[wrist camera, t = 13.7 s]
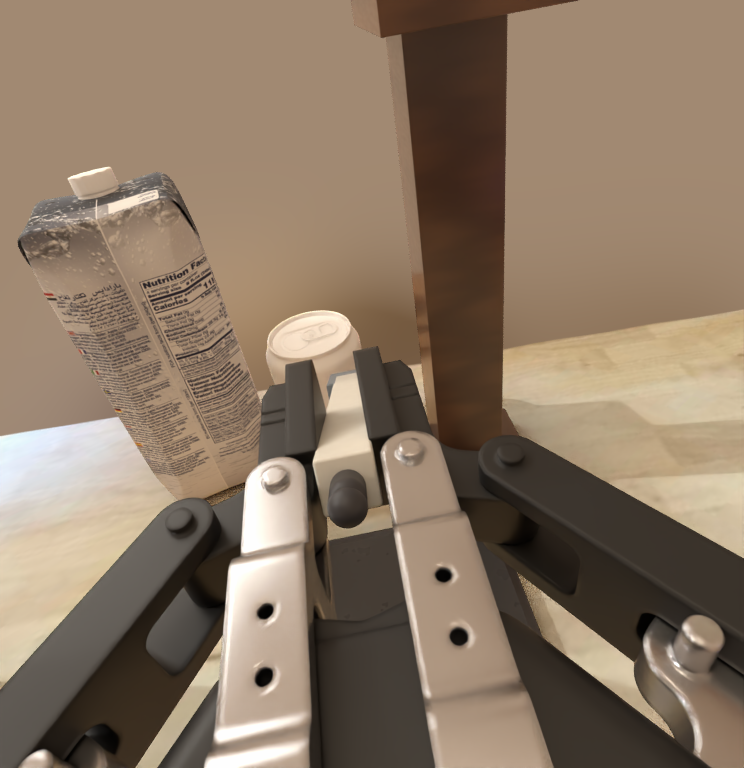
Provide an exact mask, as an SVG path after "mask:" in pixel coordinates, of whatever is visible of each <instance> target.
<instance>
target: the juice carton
mask: <svg viewBox="0 0 744 768" xmlns="http://www.w3.org/2000/svg"><path fill="white" fill-rule="evenodd" d="M68 181H69V183H70V185H71V187H72V189H73V191H74V193H75V195H73V196H67V197H59V198H54V199H48V200H44V201H41V202H39V203H37V204H36V205H35V207H34V209H33V211H32V215H31V217H30V219H29V221H28V223H27V225H26V227H25V229H24V230H23V232H22V233H21V235H20V237H19V238H18V247H19V249H20V251H21V253H22V255H23V256H24V258H25V259H26V261H27V262H28V264H29V265H30V266H31V268H32V269H33V271H34V274H35V276H36V278H37V280H38V282H39V285H40V287H41V289H42V291H43V292H44V294H45V296H46V298H47V299H48V301H49V303H50V305H51V306H52V308H53V310H54V311H55V313H56V315H57V316H58V318H59V319H60V321H61V323H62V325H63V326H64V328H65V329H66V331H67V333H68V335H69V336H70V338H71V340H72V341H73V343H74V344H75V346H76V348H77V349H78V351H79V353H80V354H81V356H82V358H83V359H84V361H85V362H86V364H87V366H88V367H89V369H90V371H91V372H92V374H93V375H94V377H95V379H96V380H97V382H98V384H99V385H100V387H101V388H102V390H103V392H104V393H105V395H106V397H107V398H108V400H109V402H110V403H111V405H112V407H113V408H114V410H115V411H116V413H117V415H118V416H119V418H120V420H121V421H122V423H123V424H124V426H125V428H126V429H127V431H128V433H129V434H130V436H131V437H132V439H133V441H134V442H135V444H136V446H137V447H138V449H139V450H140V452H141V454H142V455H143V457H144V459H145V460H146V462H147V463H148V465H149V466H150V468H151V470H152V471H153V473H154V474H155V475H156V477H157V478H158V479H159V481H160V482H161V483H162V484H163V485H164V486H165V487H166V488H167V489H168V490H169V491H170V492H171V493H172V494H173V496H174V497H175V498H177V499H178V500H182V499H186V498H201V499H204V498H207V497H209V496H211V495H214V494H216V493H218V492H221V491H223V490H225V489H228V488H230V487H233V486H236V485H239V484H241V483H244V482H246V480H247V478H248V476H249V474H250V473H251V472H252V471H253V469H255V468H256V467H257V466H258V454H259V438H260V427H261V424H260V422H261V407H262V405H261V402H260V399H259V397H258V394H257V391H256V388H255V386H254V383H253V380H252V377H251V375H250V372H249V369H248V367H247V364H246V361H245V359H244V356H243V353H242V350H241V348H240V345H239V342H238V340H237V337H236V334H235V331H234V329H233V326H232V323H231V321H230V318H229V316H228V313H227V310H226V308H225V305H224V302H223V299H222V297H221V294H220V291H219V289H218V286H217V283H216V280H215V278H214V275H213V272H212V270H211V267H210V265H209V262H208V259H207V257H206V254H205V252H204V249H203V246H202V244H201V241H200V237H199V234H198V232H197V229H196V226H195V224H194V222H193V220H192V218H191V216H190V214H189V212H188V209H187V207H186V205H185V203H184V201H183V199H182V197H181V195H180V193H179V191H178V189H177V188H176V186H175V184H174V183H173V181H172V180H171V179H170V178H169V177H168V176H167V175H165V174H164V173H158V172H156V173H152V174H148V175H145V176H142V177H139V178H136V179H134V180H131V181H128V182H125V183H123V184H120V185H119V184H118V182H117V179H116V177H115V175H114V173H113V170H112V168H111V167H104V168H101V169H95V170H92V171H88V172H84V173H80V174H78V175H74V176H71V177H70V178H68Z"/></svg>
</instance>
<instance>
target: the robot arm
mask: <svg viewBox="0 0 744 768" xmlns="http://www.w3.org/2000/svg"><path fill="white" fill-rule="evenodd" d="M353 357H354V363H355V368H356V374H357V379H358V385H359V390H360V396H361V401H362V407H363V412H364V418H365V423H366V429H367V434H368V440H370V441H371V442H372V447H373V452H374V456H375V461H376V466H377V471H378V476H379V481H380V486H381V492H382V498H383V505H388V504H389V506H390V511H391V517H392V523H393V531H394V536H395V542H396V548H397V553H398V559H399V564H400V570H401V576H402V581H403V587H404V592H405V598H406V600H405V601H403V602H401V603H399V604H397V605H395V606H393V607H391V608H389V609H387V610H385V611H383V612H381V613H379V614H376V615H374V616H372V617H370V618H368V619H366V620H362V621H351V620H337V615H336V608H335V598H334V587H333V576H332V566H331V555H330V545H329V540H328V537H327V535H328V529H327V517H325V516H324V514H323V509H322V505H321V500H320V496H319V491H318V487H317V482H316V477H315V473H314V468H313V459H314V456H315V452H316V450H317V448H318V444H319V440H320V436H321V433H322V429H323V425H324V421H325V417H326V408H325V404H324V400H323V396H322V393H321V389H320V385H319V382H318V378H317V374H316V371H315V367H314V364H313V361H312V359H310V360H305V361H300V362H295V363H290V364H286V365H285V383H283V384H278V385H273V386H270V387H269V389H268V390H267V392H266V394H265V395H264V397H263V399H262V407H261V422H260V424H261V427H260V438H259V454H258V466H257V467H256V468H255V469H253V471H252V472H251V473H250V474H249V476H248V478H247V480H246V484H245V489H243V490H242V491H241V492H239V493H238V494H236V495H235V496H233V497H231V498H229V499H227V500H225V501H222V502H220V503H218V504H216V505H214V506H211V505H210V504H209V503H208V502H207V501H206V500H204V499H201V498H186V499H182V500H179V501H176V502H174V503H172V504H171V505H169V506H167V507H166V508H165V509H164V510H162V511H161V512H160V513H159V514H158V515H157V516H156V518H155V519H154V520H153V521H152V522H151V523H150V524H149V525H148V526H147V528H146V529H145V530H144V531H143V532H142V533H141V534H140V535H139V536H138V538H137V539H136V540H135V541H134V542H133V543H132V544H131V545H130V546H129V547H128V549H127V550H126V551H125V552H124V553H123V554H122V555H121V556H120V557H119V559H118V560H117V561H116V562H115V563H114V564H113V565H112V566H111V567H110V569H109V570H108V571H107V572H106V573H105V574H104V575H103V576H102V577H101V579H100V580H99V581H98V582H97V583H96V584H95V585H94V586H93V587H92V589H91V590H90V591H89V592H88V593H87V594H86V595H85V596H84V597H83V599H82V600H81V601H80V602H79V603H78V604H77V605H76V606H75V607H74V609H73V610H72V611H71V612H70V613H69V614H68V615H67V616H66V617H65V619H64V620H63V621H62V622H61V623H60V624H59V625H58V626H57V627H56V629H55V630H54V631H53V632H52V633H51V634H50V635H49V636H48V637H47V639H46V640H45V641H44V642H43V643H42V644H41V645H40V646H39V647H38V648H37V650H36V651H35V652H34V653H33V654H32V655H31V656H30V657H29V658H28V660H27V661H26V662H25V663H24V664H23V665H22V666H21V667H20V668H19V670H18V671H17V672H16V673H15V674H14V675H13V676H12V677H11V678H10V680H9V681H8V682H7V683H6V684H5V685H4V686H3V687H2V688H1V690H0V768H135V767H136V766H137V764H138V763H139V761H140V760H141V758H142V757H143V755H144V753H145V752H146V750H147V749H148V747H149V746H150V744H151V743H152V741H153V740H154V738H155V737H156V735H157V734H158V732H159V731H160V729H161V728H162V726H163V725H164V723H165V722H166V720H167V719H168V717H169V716H170V714H171V713H172V711H173V710H174V708H175V706H176V705H177V703H178V702H179V700H180V699H181V697H182V696H183V694H184V693H185V691H186V690H187V688H188V687H189V685H190V684H191V682H192V681H193V679H194V678H195V676H196V675H197V673H198V672H199V670H200V669H201V667H202V666H203V664H204V663H205V661H206V659H207V658H208V656H209V655H210V653H211V652H212V650H213V649H214V647H215V646H216V644H217V643H218V641H219V640H220V638H221V637H222V635H223V639H222V651H221V662H220V674H219V680H218V681H217V682H216V684H215V685H214V686H213V688H212V689H211V690H210V692H209V693H208V695H207V696H206V698H205V699H204V701H203V702H202V704H201V705H200V706H199V708H198V709H197V711H196V712H195V714H194V715H193V717H192V718H191V720H190V721H189V723H188V724H187V725H186V727H185V728H184V730H183V731H182V733H181V734H180V736H179V737H178V739H177V740H176V742H175V743H174V744H173V746H172V747H171V749H170V750H169V752H168V753H167V755H166V756H165V758H164V759H163V761H162V762H161V764H160V765H159V766H158V768H744V558H742V557H740V556H738V555H736V554H735V553H733V552H731V551H729V550H727V549H726V548H724V547H722V546H720V545H718V544H717V543H715V542H713V541H711V540H709V539H708V538H706V537H704V536H702V535H700V534H699V533H697V532H695V531H693V530H691V529H690V528H688V527H686V526H684V525H682V524H681V523H679V522H677V521H675V520H673V519H672V518H670V517H668V516H666V515H664V514H663V513H661V512H659V511H657V510H655V509H654V508H652V507H650V506H648V505H646V504H644V503H643V502H641V501H639V500H637V499H635V498H634V497H632V496H630V495H628V494H626V493H625V492H623V491H621V490H619V489H617V488H616V487H614V486H612V485H610V484H608V483H607V482H605V481H603V480H601V479H599V478H598V477H596V476H594V475H592V474H590V473H589V472H587V471H585V470H583V469H581V468H580V467H578V466H576V465H574V464H572V463H571V462H569V461H567V460H565V459H563V458H562V457H560V456H558V455H556V454H554V453H553V452H551V451H549V450H547V449H545V448H544V447H542V446H540V445H538V444H536V443H534V442H533V441H531V440H529V439H527V438H524V437H521V436H516V435H502V436H498V437H494V438H492V439H490V440H488V441H487V442H486V443H484V444H483V445H482V447H481V448H480V451H470V450H458V449H454V448H451V447H448V446H446V445H444V444H442V443H441V442H439V441H438V440H437V439H436V438H435V436H434V435H433V433H432V431H431V428H430V425H429V422H428V419H427V416H426V413H425V410H424V406H423V403H422V400H421V397H420V395H419V391H418V388H417V385H416V382H415V379H414V376H413V373H412V370H411V369H410V368H409V367H408V366H407V365H405V364H404V363H403V362H402V361H401V360H398V361H393V362H388V363H383V364H382V360H381V356H380V352H379V348H378V346H376V347H371V348H366V349H361V350H356V351H353ZM476 541H479V542H483V543H484V545H485V546H486V548H487V549H488V550H490V551H491V552H492V553H493V554H495V555H496V556H497V557H498V558H500V559H501V560H502V561H504V562H505V563H506V564H507V565H509V566H510V567H511V568H513V569H514V570H515V571H517V572H518V573H519V574H520V575H522V576H523V577H524V578H526V579H527V580H528V581H530V582H531V583H532V584H533V585H535V586H536V587H537V588H539V589H540V590H541V591H543V592H544V593H545V594H546V595H548V596H549V597H550V598H552V599H553V600H554V601H556V602H557V603H558V604H559V605H561V606H562V607H563V608H565V609H566V610H567V611H569V612H570V613H571V614H572V615H574V616H575V617H576V618H578V619H579V620H580V621H581V622H583V623H584V624H585V625H587V626H588V627H589V628H591V629H592V630H593V631H594V632H596V633H597V634H598V635H600V636H601V637H602V638H604V639H605V640H606V641H607V642H609V643H610V644H611V645H613V646H614V647H615V648H617V649H618V650H619V651H620V652H622V653H623V654H624V655H626V656H627V657H628V658H630V659H631V660H632V661H633V662H635V663H634V677H635V681H636V684H637V686H638V689H639V691H640V693H641V694H642V696H643V698H644V699H645V700H646V701H647V703H648V704H649V705H650V706H651V707H652V708H653V709H654V710H655V711H656V712H657V713H658V714H659V715H660V716H661V717H662V718H663V720H664V721H665V722H666V724H667V725H668V727H669V728H670V730H671V731H672V733H673V735H674V738H675V739H674V738H672V737H671V736H670V735H668V734H667V733H666V732H665V731H663V730H662V729H661V728H659V727H658V726H657V725H655V724H654V723H653V722H651V721H650V720H649V719H648V718H646V717H645V716H644V715H642V714H641V713H640V712H638V711H637V710H636V709H635V708H633V707H632V706H631V705H629V704H628V703H627V702H625V701H624V700H623V699H622V698H620V697H619V696H618V695H616V694H615V693H614V692H612V691H611V690H610V689H609V688H607V687H606V686H605V685H603V684H602V683H601V682H599V681H598V680H597V679H596V678H594V677H593V676H592V675H590V674H589V673H588V672H586V671H585V670H584V669H583V668H581V667H580V666H579V665H577V664H576V663H575V662H573V661H572V660H571V659H570V658H568V657H567V656H566V655H564V654H563V653H562V652H560V651H559V650H558V649H556V648H555V647H554V646H553V645H551V644H550V643H549V642H547V641H546V640H545V639H543V638H542V637H541V636H540V635H538V634H537V633H536V632H534V631H533V630H532V629H530V628H529V627H528V626H527V625H525V624H524V623H522V622H521V621H519V620H518V619H516V618H514V617H512V616H511V615H509V614H507V613H505V612H502V611H500V610H498V608H497V605H496V602H495V599H494V595H493V592H492V589H491V586H490V583H489V580H488V577H487V574H486V571H485V568H484V565H483V562H482V559H481V556H480V552H479V549H478V546H477V543H476Z"/></svg>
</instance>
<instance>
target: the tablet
mask: <svg viewBox="0 0 744 768" xmlns="http://www.w3.org/2000/svg"><path fill="white" fill-rule="evenodd" d="M476 543H477V546H478V549H479V552H480V556H481V559H482V562H483V565H484V568H485V571H486V574H487V577H488V580H489V583H490V586H491V589H492V592H493V595H494V599H495V602H496V605H497V608H498V610H500V611H502V612H505V613H507V614H509V615H511V616H512V617H514V618H516V619H518V620H519V621H521V622H522V623H524V624H525V625H527V626H528V627H529V628H530V629H532V630H533V631H534V632H536V633H537V634H538V635H540V636H541V637H542V634H541V632H540V629H539V627H538V624H537V622H536V619H535V617H534V614H533V612H532V609H531V607H530V604H529V602H528V599H527V596H526V594H525V591H524V589H523V586H522V584H521V581H520V579H519V576H518V574H517V571H515V570H514V569H513V568H511V567H510V566H509V565H507V564H506V563H505V562H504V561H502V560H501V559H500V558H498V557H497V556H496V555H495V554H493V553H492V552H491V551H490V550H488V549H487V548H486V546H485V545H484V543H483V542H479V541H476ZM329 545H330V555H331V566H332V576H333V587H334V598H335V608H336V615H337V620H351V621H362V620H366V619H368V618H370V617H372V616H374V615H376V614H379V613H381V612H383V611H385V610H387V609H389V608H391V607H393V606H395V605H397V604H399V603H401V602H403V601H405V600H406V598H405V592H404V587H403V581H402V576H401V570H400V564H399V559H398V553H397V548H396V542H395V536H394V531H393V528H389V529H384V530H379V531H374V532H369V533H365V534H360V535H355V536H350V537H345V538H340V539H335V540H330V541H329ZM542 638H543V637H542Z"/></svg>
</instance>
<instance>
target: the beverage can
mask: <svg viewBox="0 0 744 768" xmlns="http://www.w3.org/2000/svg"><path fill="white" fill-rule="evenodd" d="M267 345H268V348H267V351H266V361H267V364H268V367H269V370H270V373H271V375H272V378H273V381H274V384H275V385H278V384H283V383H285V365H286V364H290V363H295V362H300V361H305V360H310V359H312V361H313V364H314V367H315V371H316V374H317V378H318V382H319V385H320V389H321V393H322V396H323V400H324V404H325V408H326V411H327V407H328V403H329V397H328V392H327V387H326V386H327V383H328V380H329V377H330V375H331V374H335V373H340V372H345V371H350V370H355V369H356V368H355V363H354V357H353V351H356V350H361V344H360V339H359V335H358V333H357V331H356V330H355V329H354V327H352V326H351V324H350V321H349V320H348V319H347V318H346V317H345V316H343V315H342V314H340V313H337V312H333V311H311V312H306V313H302V314H298V315H295V316H293V317H291V318H288V319H286V320H285V321H283V322H281V323H280V324H279V325H277V326H276V327H275V328H274V329H273V330H272V331H271V333H270V334H269V336H268V339H267Z"/></svg>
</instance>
